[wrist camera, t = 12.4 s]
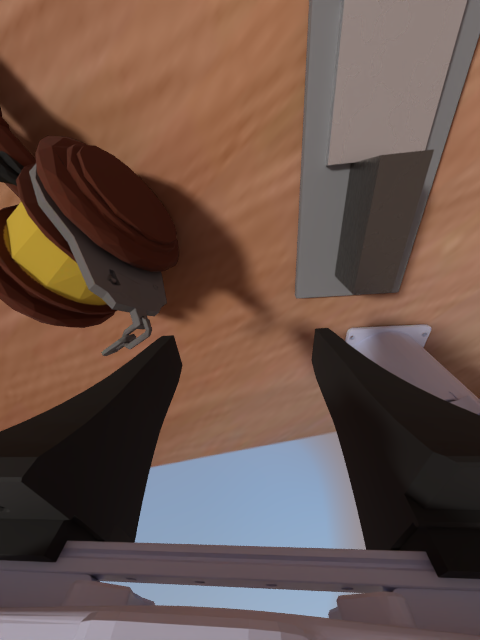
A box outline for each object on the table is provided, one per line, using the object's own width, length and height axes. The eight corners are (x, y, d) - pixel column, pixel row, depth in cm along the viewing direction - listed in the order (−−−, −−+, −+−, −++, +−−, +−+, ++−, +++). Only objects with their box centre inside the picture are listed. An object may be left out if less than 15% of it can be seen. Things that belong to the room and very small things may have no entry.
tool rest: (393, 288, 20) (398, 292, 19) (294, 294, 21) (296, 298, 20) (492, -45, 11) (509, -60, 10) (310, -13, 12) (313, -27, 11)
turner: (386, 272, 18) (417, 291, 15) (314, 277, 19) (328, 296, 15) (464, -18, 11) (564, -115, 7) (340, 2, 11) (380, -80, 8)
